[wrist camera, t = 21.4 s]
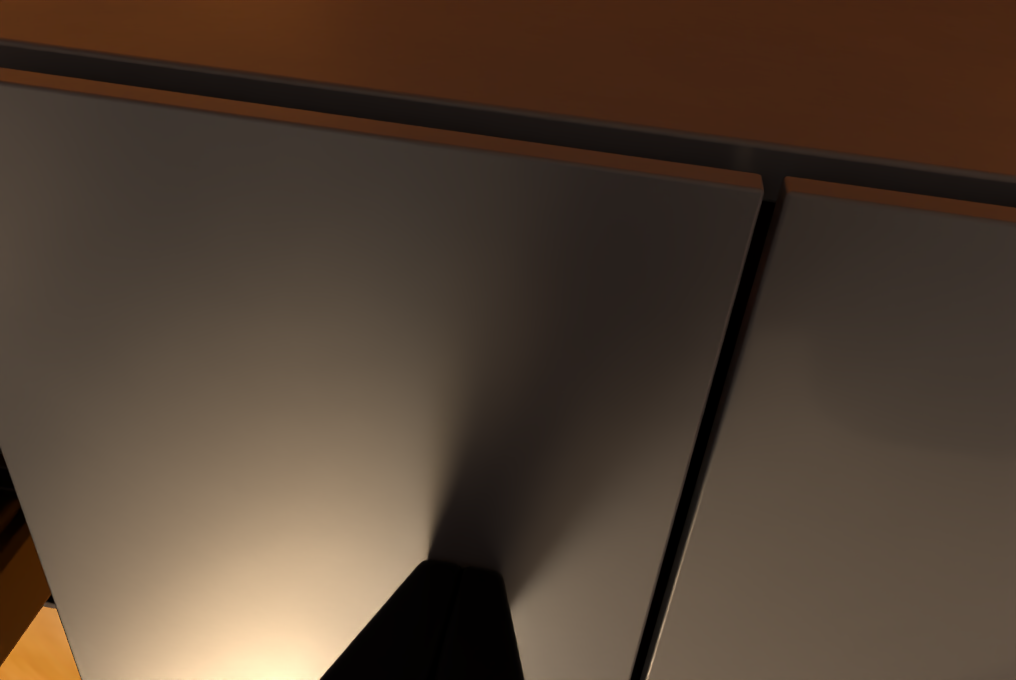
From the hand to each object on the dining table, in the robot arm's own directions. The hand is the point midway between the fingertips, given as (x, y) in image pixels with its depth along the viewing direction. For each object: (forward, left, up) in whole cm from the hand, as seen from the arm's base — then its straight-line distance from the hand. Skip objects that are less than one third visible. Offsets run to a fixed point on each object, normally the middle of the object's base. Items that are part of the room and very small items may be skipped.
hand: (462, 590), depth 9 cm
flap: (-2, 0, 0) cm, 1 cm away
